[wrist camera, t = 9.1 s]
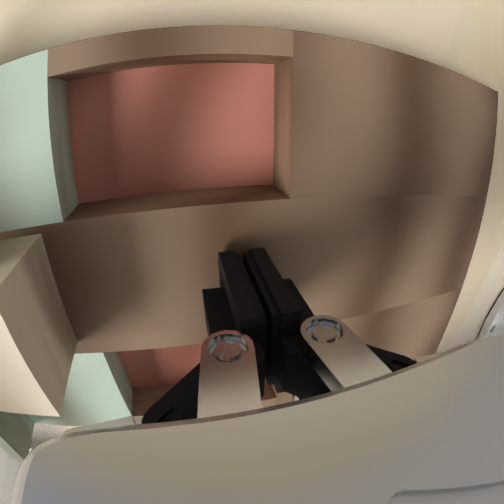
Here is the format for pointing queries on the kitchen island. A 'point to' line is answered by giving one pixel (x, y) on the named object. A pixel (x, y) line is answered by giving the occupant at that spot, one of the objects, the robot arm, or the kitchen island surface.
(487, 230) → the kitchen island surface
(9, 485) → the white short cylinder
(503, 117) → the kitchen island surface
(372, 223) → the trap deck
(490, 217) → the kitchen island surface
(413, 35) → the kitchen island surface
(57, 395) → the ash block
